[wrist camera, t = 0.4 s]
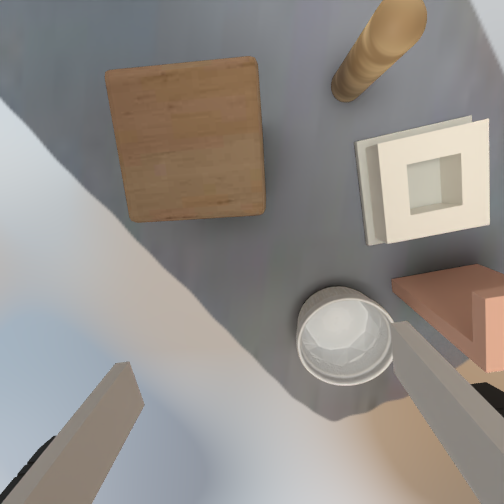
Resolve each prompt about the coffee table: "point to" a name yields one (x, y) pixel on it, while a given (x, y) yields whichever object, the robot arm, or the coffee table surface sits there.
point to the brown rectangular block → (461, 309)
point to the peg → (379, 46)
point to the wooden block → (189, 139)
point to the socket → (424, 180)
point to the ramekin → (344, 336)
